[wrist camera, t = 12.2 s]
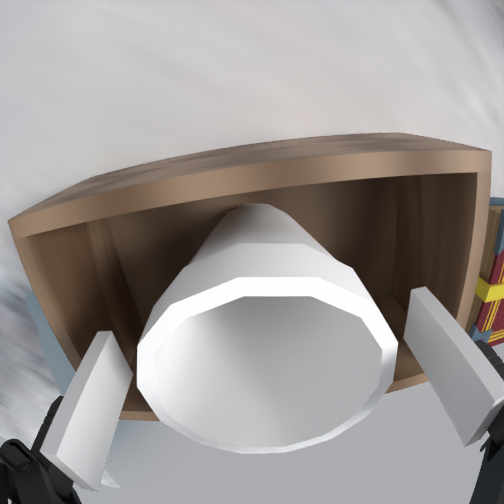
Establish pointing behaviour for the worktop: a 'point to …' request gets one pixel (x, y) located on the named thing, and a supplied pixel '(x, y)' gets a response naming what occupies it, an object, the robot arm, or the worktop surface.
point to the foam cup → (264, 340)
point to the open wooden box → (260, 192)
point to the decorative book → (490, 282)
